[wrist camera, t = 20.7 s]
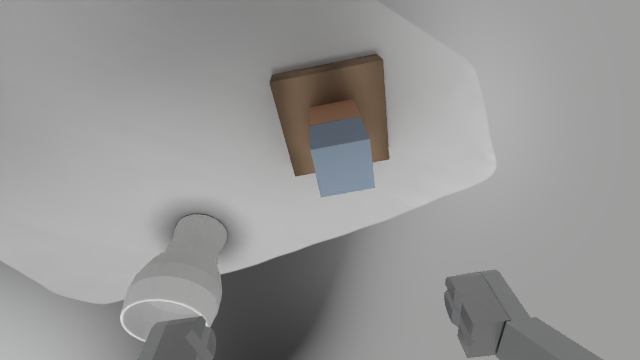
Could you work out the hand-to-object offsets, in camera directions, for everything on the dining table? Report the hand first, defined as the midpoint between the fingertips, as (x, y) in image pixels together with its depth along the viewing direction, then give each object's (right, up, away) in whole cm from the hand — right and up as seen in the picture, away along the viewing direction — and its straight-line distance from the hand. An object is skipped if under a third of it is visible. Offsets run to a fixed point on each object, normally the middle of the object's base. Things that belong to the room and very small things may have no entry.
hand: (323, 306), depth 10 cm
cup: (-19, -4, +37) cm, 41 cm away
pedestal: (+1, +12, +27) cm, 30 cm away
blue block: (+2, +8, +20) cm, 22 cm away
